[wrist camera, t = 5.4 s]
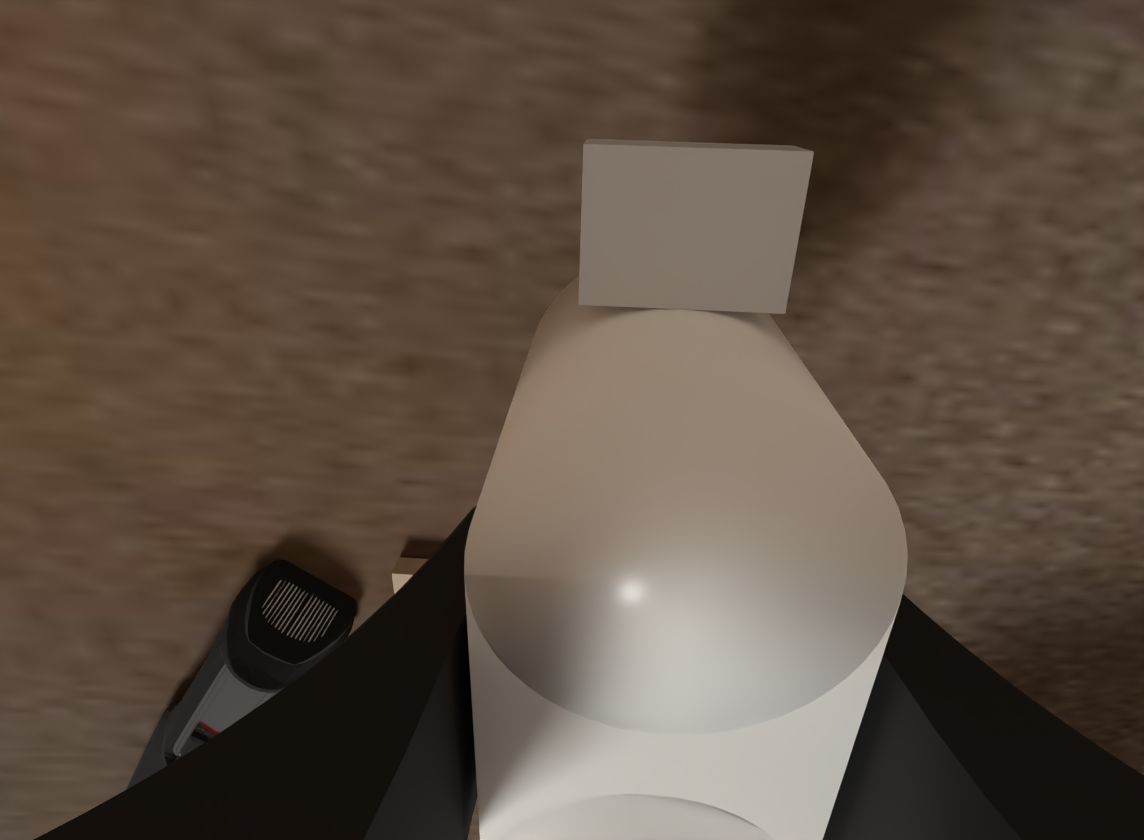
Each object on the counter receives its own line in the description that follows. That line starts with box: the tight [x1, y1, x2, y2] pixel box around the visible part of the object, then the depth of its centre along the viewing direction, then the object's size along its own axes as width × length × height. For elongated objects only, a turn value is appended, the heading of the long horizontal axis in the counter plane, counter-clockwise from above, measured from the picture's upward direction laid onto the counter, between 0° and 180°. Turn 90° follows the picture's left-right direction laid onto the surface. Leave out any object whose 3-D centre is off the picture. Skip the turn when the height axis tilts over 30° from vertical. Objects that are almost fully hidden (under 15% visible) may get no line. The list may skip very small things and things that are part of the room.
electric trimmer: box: [126, 560, 356, 790], centre depth 24 cm, size 4×16×3 cm, turn 143°
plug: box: [464, 139, 908, 840], centre depth 9 cm, size 11×4×5 cm, turn 178°
